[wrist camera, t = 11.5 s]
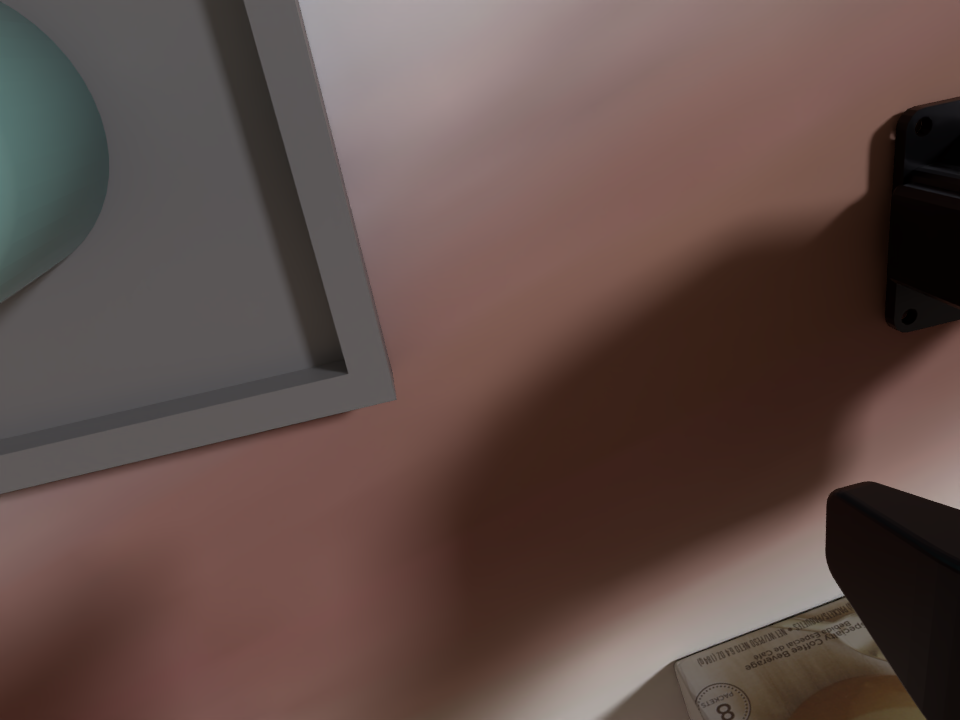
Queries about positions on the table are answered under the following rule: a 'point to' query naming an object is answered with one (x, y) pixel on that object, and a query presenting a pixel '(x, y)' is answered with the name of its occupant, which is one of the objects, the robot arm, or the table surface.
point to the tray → (191, 249)
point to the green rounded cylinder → (44, 154)
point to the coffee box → (797, 673)
